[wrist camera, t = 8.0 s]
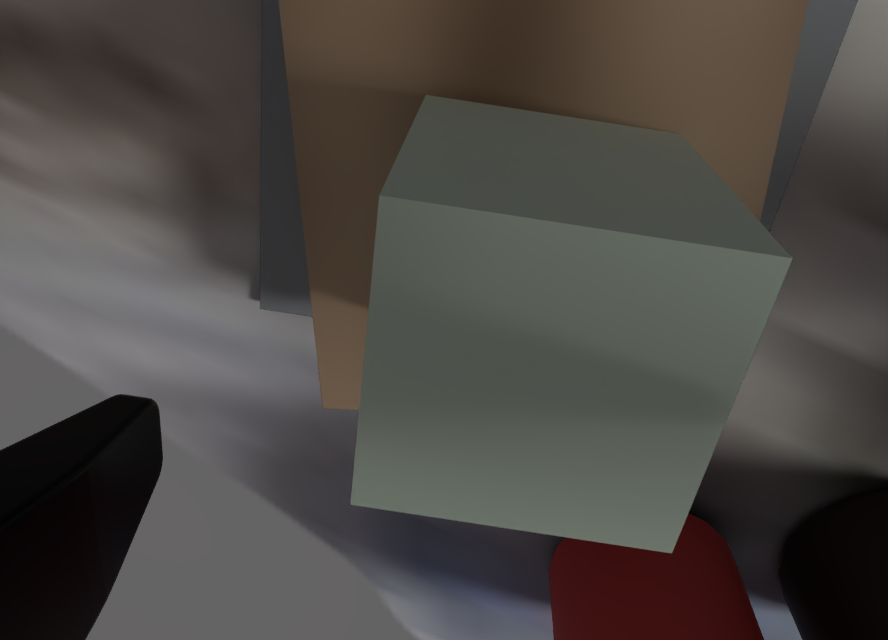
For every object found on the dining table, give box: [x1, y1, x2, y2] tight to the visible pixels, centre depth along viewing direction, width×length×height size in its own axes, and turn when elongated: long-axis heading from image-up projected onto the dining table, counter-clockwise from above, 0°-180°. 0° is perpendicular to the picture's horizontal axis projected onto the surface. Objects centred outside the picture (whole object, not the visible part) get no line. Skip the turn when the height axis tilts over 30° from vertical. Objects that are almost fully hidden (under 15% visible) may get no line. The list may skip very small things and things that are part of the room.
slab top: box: [279, 0, 809, 410], centre depth 16 cm, size 10×10×2 cm
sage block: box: [350, 95, 793, 553], centre depth 12 cm, size 5×5×6 cm
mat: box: [260, 0, 858, 317], centre depth 19 cm, size 14×11×1 cm
